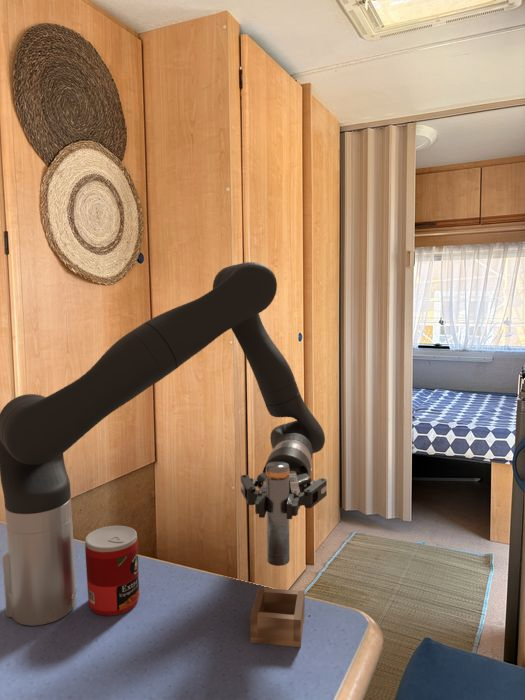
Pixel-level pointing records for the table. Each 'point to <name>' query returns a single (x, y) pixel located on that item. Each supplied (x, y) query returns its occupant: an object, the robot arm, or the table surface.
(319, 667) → the table surface
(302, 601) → the wooden masu cup
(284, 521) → the cylinder
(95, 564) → the canned food
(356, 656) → the table surface
